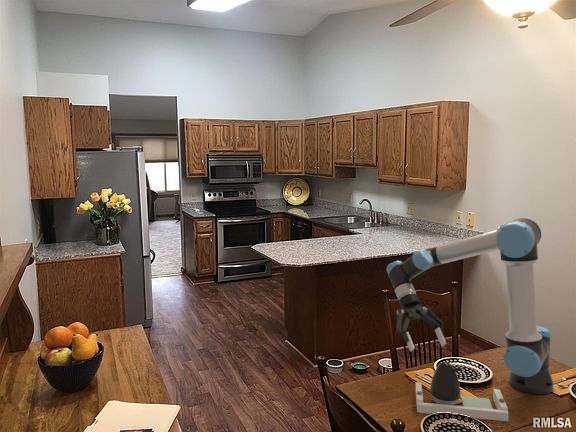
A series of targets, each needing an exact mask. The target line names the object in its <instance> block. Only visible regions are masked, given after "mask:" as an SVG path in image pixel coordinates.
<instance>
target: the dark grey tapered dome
mask: <svg viewBox="0 0 576 432" xmlns="http://www.w3.org/2000/svg"><path fill="white" fill-rule="evenodd" d="M461 371H462V368H461V367H454V366H453V364H451V363H450V362H447V361H441V362H440V363H439V364H438V365H437V366H436V368H435V371H434V372H433V375H432V378H431V382H430V386H429V387H430V388H429V389H430V391H429V392H430V395H431V398H432V399H433V402H435V404H444V405H454V406H456V405H457V404H458V402H459V400H460V399H461V387H460V386H461V385H460V380H459V377H458V375H457V372H461Z"/></svg>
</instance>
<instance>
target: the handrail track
mask: <svg viewBox="0 0 576 432" xmlns="http://www.w3.org/2000/svg"><path fill="white" fill-rule="evenodd" d="M492 393H493V395H492V400H493V402H494V405H495V409H494V408H493V406H492V403H491V401H490V398H485V397H477V396H475V397H474V396H465V395H460V399H461V398H462V399H461V402H462V405H463V406H461V405H444V404H437V403H432V402H431V403H430V402H424V396H423V386H422V382H416V381H415V401H416V412H417V414H418V413H420V414H428V415H429V414H430V415H432V414H431V413H437V412H451V413H458V414H463V415H467V416H470V417H473V418H472V419H479V420H488V421H489V420H492V421H498V422H499V421H500V422H509V414H510V413H509V411H508V409H509V408H508V406H507V403H506V402H505V401H506V400H505V399H504V397H503V394H502V391H501V390H500V389H499V388H493V392H492Z"/></svg>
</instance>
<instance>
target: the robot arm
mask: <svg viewBox="0 0 576 432" xmlns="http://www.w3.org/2000/svg"><path fill="white" fill-rule="evenodd" d="M541 239H542V229H541V227H540V226H539V224H537V222H535V221H534V220H533V219H530V218H525V217H521V218H517V219H514V220H513V221H510V222H507V223H505V224H504V225H503V224H502V225H500V226H498V228H497V229H495V230H491V231H489V232H484V233H480V234H478V235H474V236H469V237H467V238H463V239H459V240H456V241H453V242H452V241H451V242H448V243H446V244H442V245H438V246H435V247H430V248H426V249H419V250H418V251H416V252H414V253H413V254H412V255H411V256H410V257H408V258H407V259H405V260H404V261H401V260H396V261H395V260H394V261H393V262H390V263H389V264H388V265H387V266H386V272H387V275H388V278H389V280H390V282H391V285H392V288H393V290H394V293H395V295H396V297H397V300H398V303H399V306H400V307H401V308H398V309H397V310H396V311H395V314H396V326H395V334H397V335H399V336H400V337H402V340H403V341H404V343H406V344H407V347H408V349H409V351H410V352H413V351H414V350H415V349H416V348H415V345H414V343H413V340H412V337H411V335H410V333H409V331H407V329H408V327H409V324H410V322H411V321H414V320H419V319H420V320H422V321H424V322H425V323H427V324H428V325H430V326H431V327H432V328H434V333H435V335H436V337H437V338H438V341H439V343H440V346H441V347H444V346H445V345H446V344H447V341H446V339H445V332H444V330H443V327H444V326H445V324H446V323H445V322H444V321H443V320H442V319H441V318H440V317H439V316H438V315H437V314H436V313H435V312H434V311H433V310H432V309H431V307H430V305H429V304H426V305H425V306H422V305H421V302H420V298H419V297H418V295H417V292H416V289H415V288H414V284H413V283H412V279H414V278H415V277H417V276H418V275H420V274H422V273H423V272H425V271H427V270H429V269H431V268H433V267H436V266H440V265H443V264H447V263H451V262H455V261H460V260H464V259H468V258H471V257H475V256H480V255H484V254H487V253H491V252H495V251H499V252H500V253H499V254H500V260H501V262H503V264H505V272H506V289H507V305H508V307H507V308H508V322H509V324H508V325H509V330H508V331H506V332H505V350H504V352H503V358H502V359H503V362H504V365H505V367H506V368H507V369H508V370H509V373H508V383H509V384H510V386H511V387H513V388H515V389H517V390H519V391H521V392H523V393H527V394H533V395H535V394H536V395H547V394H550V393H552V392H553V391H554V380H553V377H552V373H551V371H550V356H551V355H550V353H551V352H550V350H551V339H552V335H551V330H549V329H548V328H546V327H544V326H540V325H537V309H536V293H535V291H536V290H535V277H534V276H535V275H534V273H535V272H534V271H535V270H534V264H535V263H536V262H537V261H538V260H539V258H538V257H539V256H538V244H539V243H540V242H541ZM403 315H405V316H406V317H405V319H404V322H403ZM402 322H403V325H402Z"/></svg>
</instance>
